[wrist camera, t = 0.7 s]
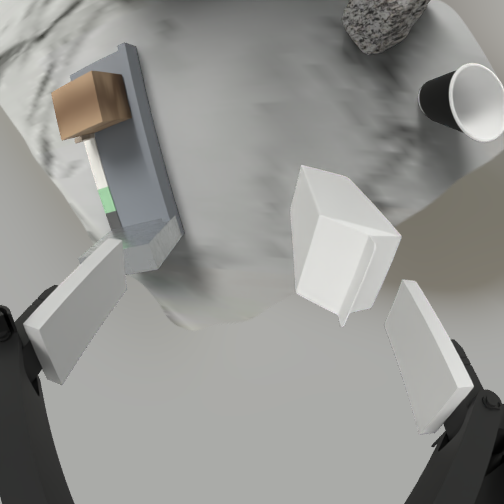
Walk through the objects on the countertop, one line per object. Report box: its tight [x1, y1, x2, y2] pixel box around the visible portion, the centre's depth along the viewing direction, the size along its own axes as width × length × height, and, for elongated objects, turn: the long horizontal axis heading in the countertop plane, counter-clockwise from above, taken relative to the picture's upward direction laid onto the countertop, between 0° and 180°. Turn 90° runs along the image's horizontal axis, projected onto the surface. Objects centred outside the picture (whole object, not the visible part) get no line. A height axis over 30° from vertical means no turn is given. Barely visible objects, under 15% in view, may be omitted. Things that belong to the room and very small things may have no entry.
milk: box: [290, 165, 402, 327], centre depth 27 cm, size 6×6×22 cm
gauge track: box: [70, 43, 184, 236], centre depth 35 cm, size 26×10×3 cm, turn 13°
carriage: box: [51, 71, 132, 143], centre depth 30 cm, size 7×7×7 cm
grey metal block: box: [78, 216, 182, 275], centre depth 36 cm, size 3×10×9 cm, turn 103°
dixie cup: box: [418, 63, 504, 142], centre depth 25 cm, size 8×8×11 cm
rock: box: [341, 0, 430, 55], centre depth 22 cm, size 16×8×10 cm, turn 127°
